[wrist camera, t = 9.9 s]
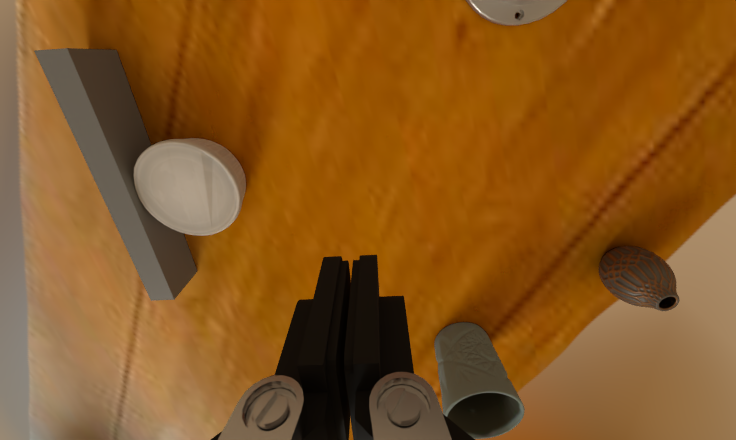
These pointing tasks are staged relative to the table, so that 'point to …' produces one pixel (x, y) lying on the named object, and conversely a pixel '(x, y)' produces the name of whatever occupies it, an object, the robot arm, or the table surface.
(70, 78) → the board
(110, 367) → the table surface
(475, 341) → the blue-grey plant pot
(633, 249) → the vase
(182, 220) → the ramekin
